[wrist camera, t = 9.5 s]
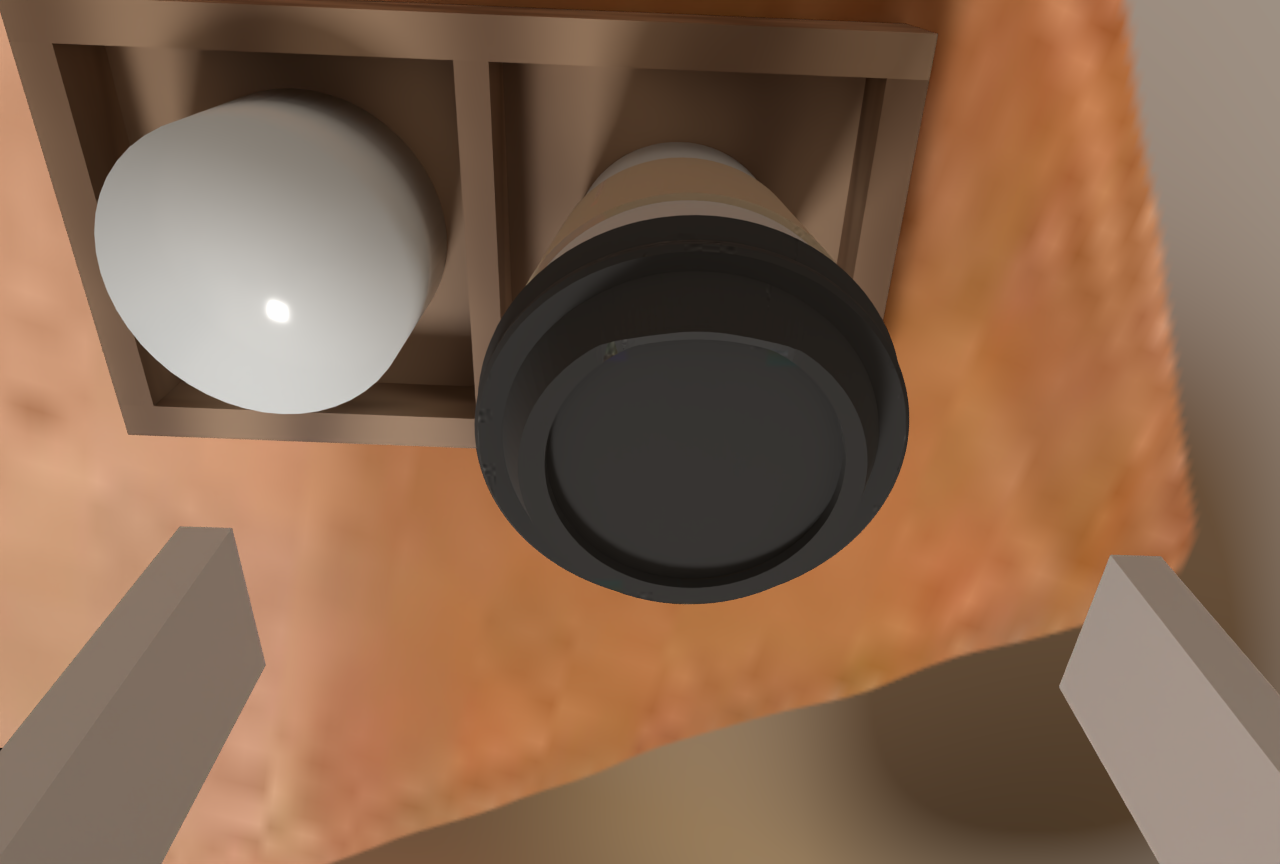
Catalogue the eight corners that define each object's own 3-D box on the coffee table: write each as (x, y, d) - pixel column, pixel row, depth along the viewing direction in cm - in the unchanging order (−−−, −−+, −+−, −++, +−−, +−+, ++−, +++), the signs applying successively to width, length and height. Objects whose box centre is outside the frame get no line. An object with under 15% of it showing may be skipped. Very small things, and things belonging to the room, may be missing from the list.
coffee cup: (791, 366, 31) (889, 669, 18) (546, 359, 31) (472, 656, 18) (824, 108, 27) (986, 266, 14) (538, 99, 27) (431, 249, 14)
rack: (176, 390, 33) (128, 434, 30) (70, -12, 26) (-6, -7, 23) (837, 416, 33) (855, 463, 30) (905, 23, 27) (938, 33, 23)
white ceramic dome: (211, 344, 31) (140, 408, 27) (150, 82, 27) (52, 108, 22) (456, 354, 31) (423, 419, 27) (435, 94, 27) (393, 122, 22)
